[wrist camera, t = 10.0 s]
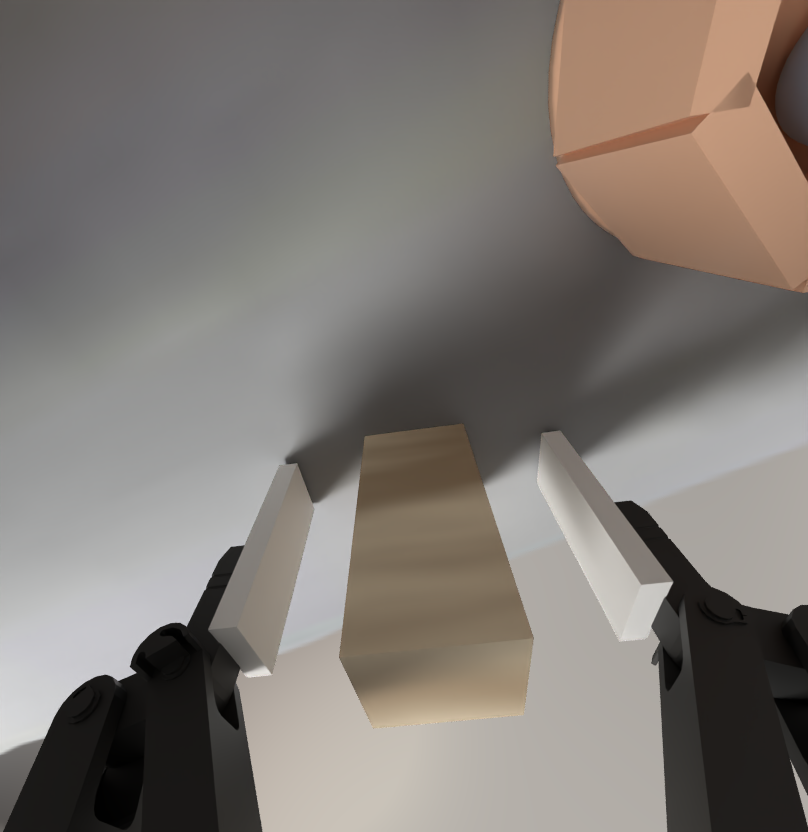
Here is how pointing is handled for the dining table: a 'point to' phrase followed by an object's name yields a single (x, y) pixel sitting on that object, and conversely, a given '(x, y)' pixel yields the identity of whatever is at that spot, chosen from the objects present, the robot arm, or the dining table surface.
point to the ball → (794, 93)
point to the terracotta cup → (684, 131)
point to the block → (431, 588)
